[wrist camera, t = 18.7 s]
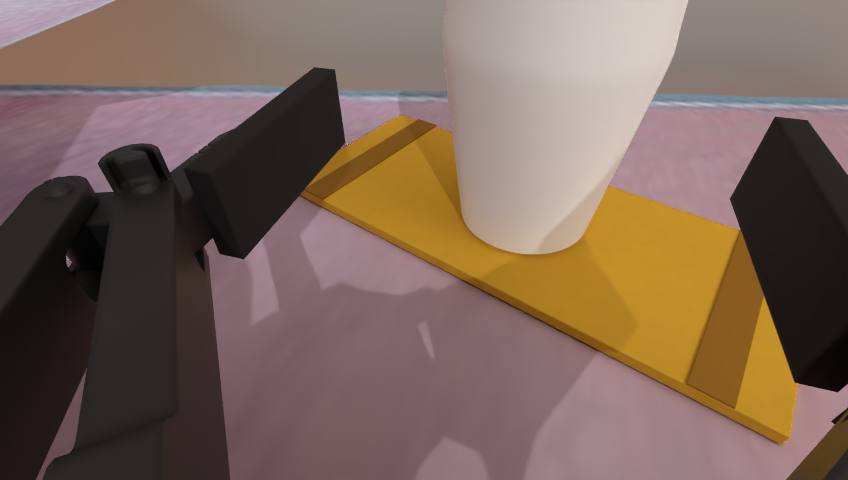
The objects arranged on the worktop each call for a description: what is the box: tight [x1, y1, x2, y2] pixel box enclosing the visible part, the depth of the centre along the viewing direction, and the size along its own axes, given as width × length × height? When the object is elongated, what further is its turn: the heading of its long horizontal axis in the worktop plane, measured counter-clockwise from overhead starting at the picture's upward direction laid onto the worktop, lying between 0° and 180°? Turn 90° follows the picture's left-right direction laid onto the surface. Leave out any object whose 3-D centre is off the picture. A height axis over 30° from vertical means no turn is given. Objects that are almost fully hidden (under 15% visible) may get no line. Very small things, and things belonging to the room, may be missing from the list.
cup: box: [442, 0, 688, 254], centre depth 20 cm, size 9×9×12 cm
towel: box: [300, 115, 798, 444], centre depth 24 cm, size 26×11×1 cm, turn 53°
